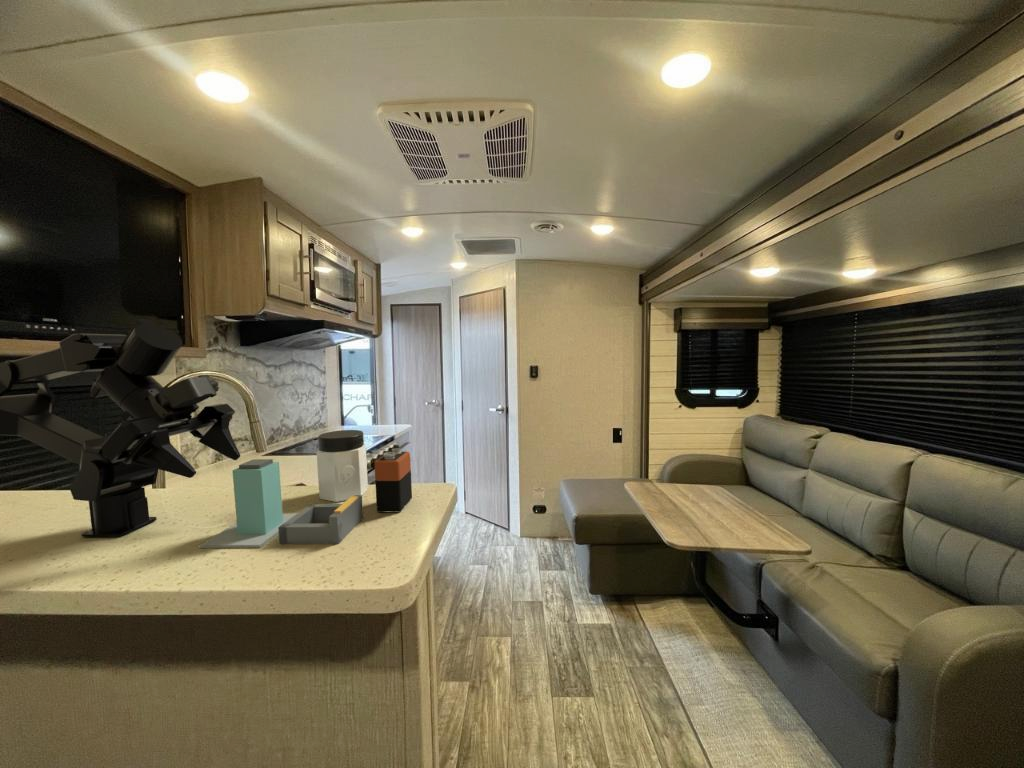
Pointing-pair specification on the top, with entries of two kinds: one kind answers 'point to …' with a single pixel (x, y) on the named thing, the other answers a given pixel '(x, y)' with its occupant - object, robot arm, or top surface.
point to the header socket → (328, 533)
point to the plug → (257, 497)
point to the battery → (393, 480)
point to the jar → (341, 465)
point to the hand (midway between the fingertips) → (217, 466)
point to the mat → (242, 538)
